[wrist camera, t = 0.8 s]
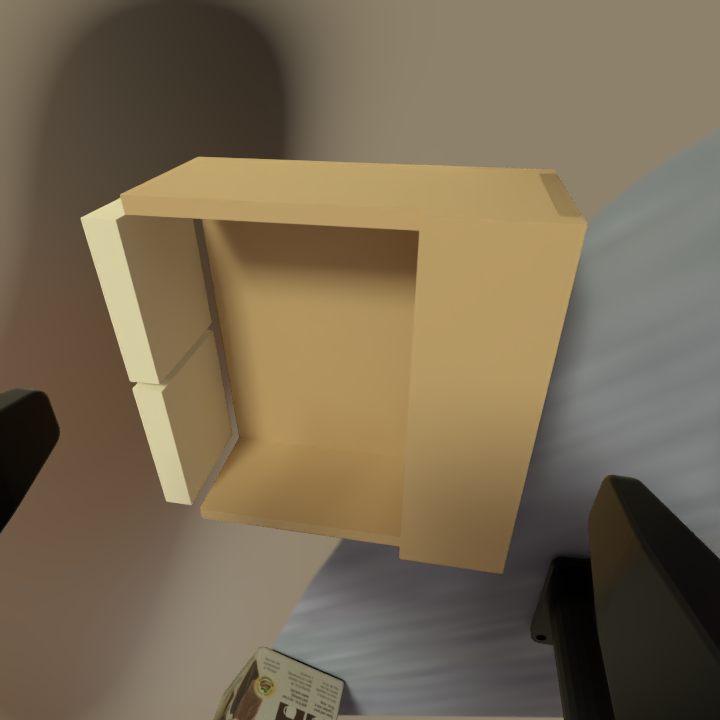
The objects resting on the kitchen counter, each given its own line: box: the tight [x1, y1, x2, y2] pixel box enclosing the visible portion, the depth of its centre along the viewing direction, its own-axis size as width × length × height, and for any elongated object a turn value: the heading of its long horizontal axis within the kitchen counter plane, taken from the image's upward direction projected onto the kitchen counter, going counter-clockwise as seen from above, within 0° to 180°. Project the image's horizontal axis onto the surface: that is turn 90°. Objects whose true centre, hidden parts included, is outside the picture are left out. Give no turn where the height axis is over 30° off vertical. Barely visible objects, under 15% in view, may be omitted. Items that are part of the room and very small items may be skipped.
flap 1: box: [81, 198, 212, 384], centre depth 16 cm, size 5×1×4 cm, turn 0°
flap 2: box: [133, 330, 232, 505], centre depth 19 cm, size 5×1×4 cm, turn 0°
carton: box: [120, 157, 588, 574], centre depth 17 cm, size 12×11×5 cm
